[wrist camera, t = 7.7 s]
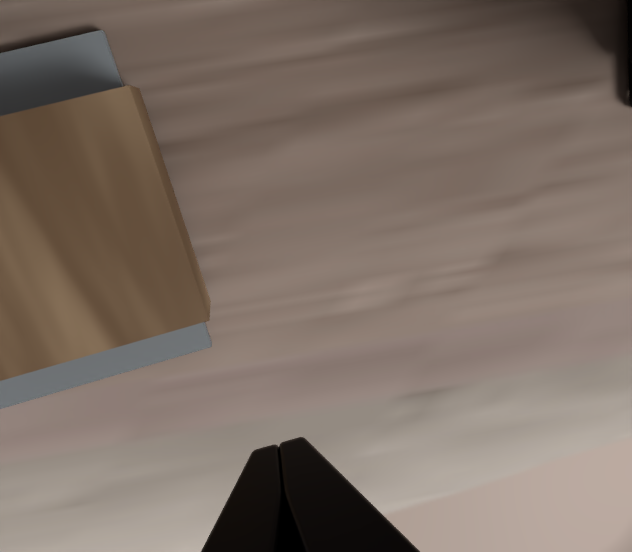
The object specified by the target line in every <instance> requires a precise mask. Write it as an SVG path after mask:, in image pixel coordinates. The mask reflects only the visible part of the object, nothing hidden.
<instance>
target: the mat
mask: <svg viewBox="0 0 632 552" xmlns="http://www.w3.org/2000/svg"><path fill="white" fill-rule="evenodd" d="M119 87H123V84H122V81H121V78H120V75H119V73H118V70H117V67H116V64H115V61H114V58H113V55H112V52H111V49H110V47H109V44H108V41H107V38H106V35H105V32H104V31H103V30H99V31H95V32H90V33H86V34H82V35H77V36H73V37H68V38H64V39H60V40H55V41H51V42H47V43H42V44H38V45H34V46H29V47H25V48H21V49H16V50H12V51H8V52H3V53H0V116H3V115H7V114H11V113H16V112H20V111H24V110H28V109H32V108H36V107H40V106H45V105H49V104H53V103H57V102H61V101H65V100H69V99H74V98H78V97H82V96H86V95H90V94H94V93H98V92H102V91H107V90H111V89H115V88H119ZM209 347H212V342H211V339H210V336H209V333H208V330H207V327H206V325H205V322H203V323H199V324H196V325H192V326H189V327H185V328H182V329H178V330H175V331H172V332H168V333H165V334H161V335H158V336H154V337H151V338H147V339H144V340H140V341H137V342H134V343H130V344H127V345H123V346H120V347H116V348H113V349H109V350H106V351H102V352H99V353H95V354H92V355H89V356H85V357H82V358H78V359H75V360H71V361H68V362H64V363H61V364H57V365H54V366H51V367H47V368H44V369H40V370H37V371H33V372H30V373H26V374H23V375H19V376H16V377H12V378H9V379H6V380H2V381H0V409H2V408H5V407H8V406H12V405H15V404H19V403H22V402H25V401H29V400H32V399H36V398H39V397H42V396H46V395H49V394H53V393H56V392H59V391H63V390H66V389H70V388H73V387H76V386H80V385H83V384H87V383H90V382H93V381H97V380H100V379H104V378H107V377H110V376H114V375H117V374H121V373H124V372H127V371H131V370H134V369H138V368H141V367H144V366H148V365H151V364H155V363H158V362H161V361H165V360H168V359H172V358H175V357H178V356H182V355H185V354H189V353H192V352H195V351H199V350H202V349H206V348H209Z"/></svg>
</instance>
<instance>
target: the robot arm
mask: <svg viewBox="0 0 632 552" xmlns="http://www.w3.org/2000/svg"><path fill="white" fill-rule="evenodd" d="M628 44H629V96H630V105H631V106H632V0H628ZM201 552H420V551H419V550H418V549H417V548H416V547H415V546H414V545H412V543H411V542H410V541H409V540H408V539H407V538H406V537H405V536H404V535H403V534H402V533H401V532H400V531H399V530H397V529H396V528H395V527H394V526H393V525H392V524H391V523H390V522H389V521H388V520H387V519H386V518H385V517H384V516H383V515H382V514H381V513H380V512H379V511H378V510H377V509H376V508H375V507H374V506H373V505H372V504H371V503H370V502H369V501H368V500H367V499H366V498H365V497H364V496H363V495H362V494H361V493H360V492H359V491H358V490H357V489H356V488H355V487H354V486H353V485H352V484H351V483H350V482H349V481H348V480H347V479H346V478H345V477H344V476H343V475H342V474H341V473H340V472H339V471H338V470H337V469H336V468H335V467H334V466H333V465H332V464H331V463H330V462H329V461H328V460H326V459H325V458H324V457H323V456H322V455H321V454H320V453H319V452H318V451H317V450H316V449H315V448H314V447H313V446H312V445H311V444H310V443H309V442H308V441H307V440H306V439H305V438H303V437H299V438H295V439H292V440H288V441H285V442H282V443H281V444H280V446H279V447H278V446H277V445H271V446H267V447H263V448H260V449H256V450H254V451H253V452H252V454H251V456H250V457H249V459H248V461H247V463H246V465H245V467H244V469H243V471H242V473H241V475H240V477H239V479H238V481H237V483H236V485H235V487H234V489H233V491H232V492H231V494H230V496H229V498H228V500H227V502H226V504H225V506H224V508H223V510H222V512H221V514H220V516H219V518H218V520H217V522H216V524H215V526H214V528H213V529H212V531H211V533H210V535H209V537H208V539H207V541H206V543H205V545H204V547H203V549H202V551H201Z"/></svg>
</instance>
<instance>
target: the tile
mask: <svg viewBox="0 0 632 552" xmlns="http://www.w3.org/2000/svg"><path fill="white" fill-rule="evenodd" d="M210 302H211V301H210V298H209V295H208V292H207V289H206V286H205V283H204V280H203V277H202V274H201V271H200V268H199V265H198V262H197V259H196V256H195V253H194V250H193V247H192V244H191V241H190V238H189V235H188V232H187V229H186V226H185V223H184V220H183V217H182V214H181V211H180V208H179V205H178V203H177V200H176V197H175V194H174V191H173V188H172V185H171V182H170V179H169V176H168V173H167V170H166V167H165V164H164V161H163V158H162V155H161V152H160V149H159V146H158V143H157V140H156V137H155V134H154V131H153V128H152V125H151V122H150V119H149V116H148V113H147V110H146V107H145V104H144V101H143V98H142V95H141V92H140V89H139V88H136V87H133V86H130V85H127V86H123V87H119V88H115V89H111V90H107V91H102V92H98V93H94V94H90V95H86V96H82V97H78V98H74V99H69V100H65V101H61V102H57V103H53V104H49V105H45V106H40V107H36V108H32V109H28V110H24V111H20V112H16V113H11V114H7V115H3V116H0V381H2V380H6V379H9V378H12V377H16V376H19V375H23V374H26V373H30V372H33V371H37V370H40V369H44V368H47V367H51V366H54V365H57V364H61V363H64V362H68V361H71V360H75V359H78V358H82V357H85V356H89V355H92V354H95V353H99V352H102V351H106V350H109V349H113V348H116V347H120V346H123V345H127V344H130V343H134V342H137V341H140V340H144V339H147V338H151V337H154V336H158V335H161V334H165V333H168V332H172V331H175V330H178V329H182V328H185V327H189V326H192V325H196V324H199V323H203V322H206V321H209V317H210Z"/></svg>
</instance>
